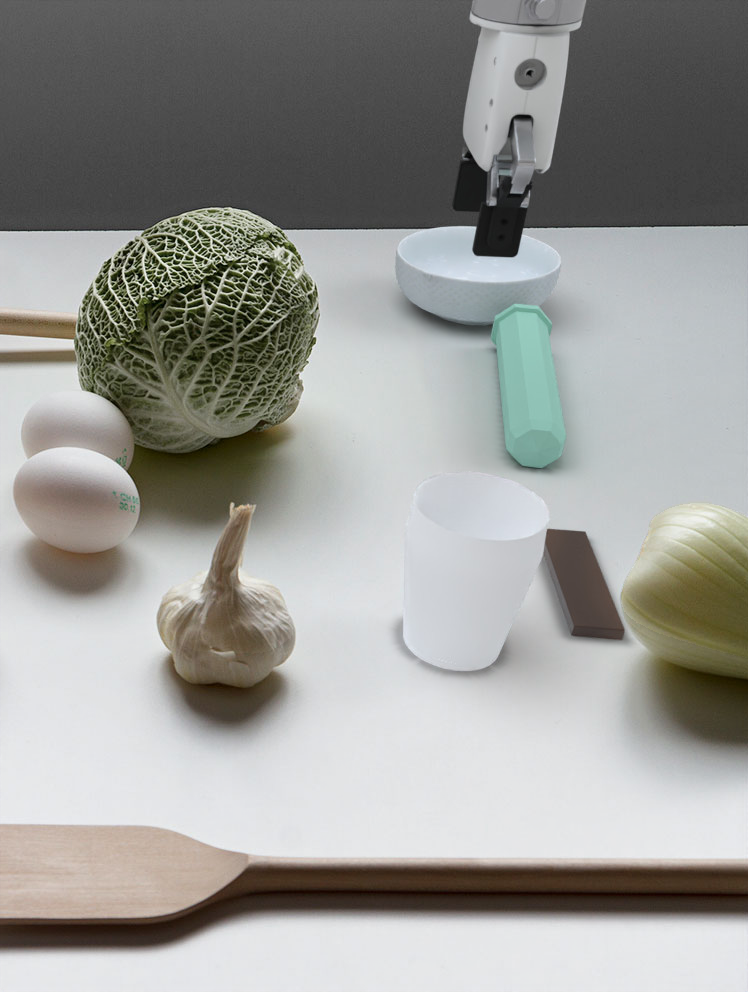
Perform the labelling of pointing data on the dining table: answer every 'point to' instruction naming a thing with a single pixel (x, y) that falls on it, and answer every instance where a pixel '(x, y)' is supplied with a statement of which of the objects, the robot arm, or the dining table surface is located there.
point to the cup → (468, 566)
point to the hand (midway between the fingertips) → (482, 232)
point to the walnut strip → (581, 585)
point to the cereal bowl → (472, 275)
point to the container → (528, 386)
